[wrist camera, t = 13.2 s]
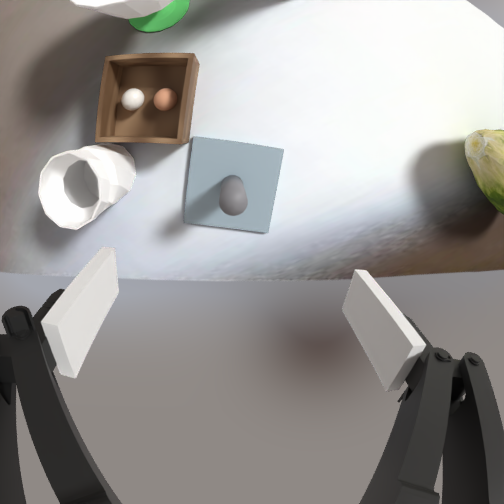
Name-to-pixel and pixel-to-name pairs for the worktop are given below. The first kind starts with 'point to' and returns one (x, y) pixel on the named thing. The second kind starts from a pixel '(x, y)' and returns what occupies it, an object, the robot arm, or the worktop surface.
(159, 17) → the cup
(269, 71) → the worktop surface
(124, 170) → the white vase
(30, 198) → the worktop surface
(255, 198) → the lid
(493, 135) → the lettuce
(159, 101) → the ball
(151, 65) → the box
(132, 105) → the ball
